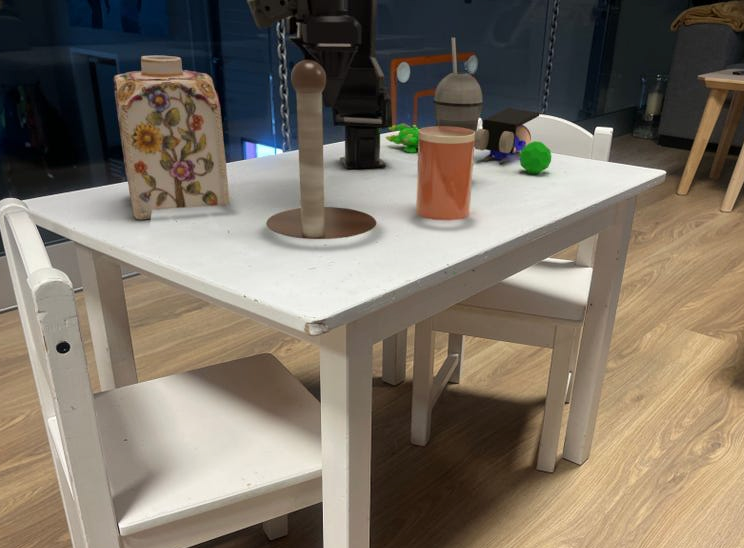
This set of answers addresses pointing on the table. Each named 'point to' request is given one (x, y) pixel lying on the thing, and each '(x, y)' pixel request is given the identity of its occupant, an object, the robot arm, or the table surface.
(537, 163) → the polyhedron
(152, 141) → the decorative jar
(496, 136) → the figurine character
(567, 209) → the table surface
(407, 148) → the crocodile figurine
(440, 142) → the tumbler
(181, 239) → the table surface
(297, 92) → the towel holder
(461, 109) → the beverage cup
